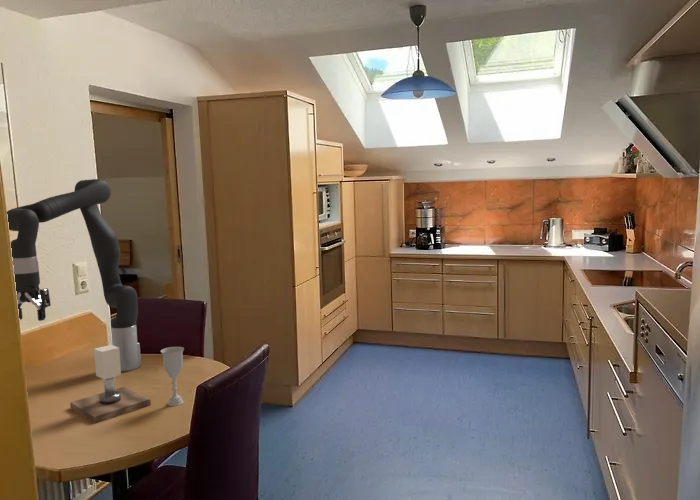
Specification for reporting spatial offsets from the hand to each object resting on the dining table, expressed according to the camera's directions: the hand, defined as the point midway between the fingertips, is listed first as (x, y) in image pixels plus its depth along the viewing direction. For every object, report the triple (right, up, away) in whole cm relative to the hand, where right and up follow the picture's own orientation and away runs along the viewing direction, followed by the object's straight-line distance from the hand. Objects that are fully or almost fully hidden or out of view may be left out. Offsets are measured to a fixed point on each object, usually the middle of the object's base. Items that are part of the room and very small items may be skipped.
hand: (30, 320), depth 176 cm
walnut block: (+26, -28, 0) cm, 39 cm away
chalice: (+47, -28, +2) cm, 54 cm away
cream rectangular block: (+26, -18, -2) cm, 32 cm away
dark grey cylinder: (+26, -26, -1) cm, 37 cm away
